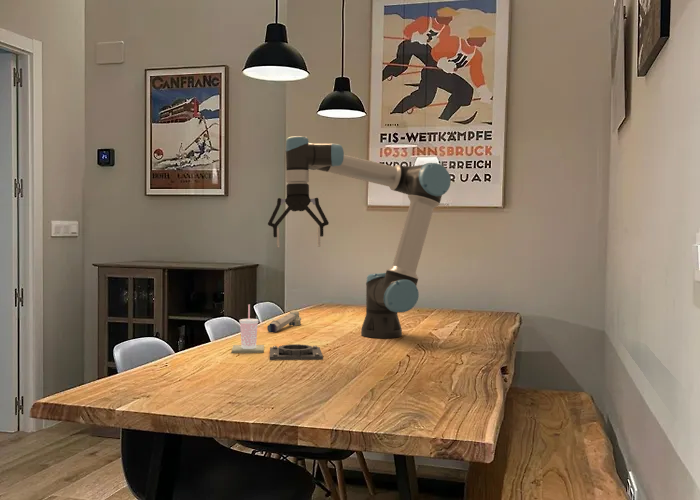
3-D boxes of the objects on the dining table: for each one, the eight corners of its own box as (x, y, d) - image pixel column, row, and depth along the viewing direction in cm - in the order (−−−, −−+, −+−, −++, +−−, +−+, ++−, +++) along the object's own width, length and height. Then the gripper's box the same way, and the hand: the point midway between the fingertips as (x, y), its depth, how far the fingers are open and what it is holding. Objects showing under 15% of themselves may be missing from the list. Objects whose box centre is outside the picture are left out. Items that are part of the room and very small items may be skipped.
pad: (264, 347, 230) (264, 344, 230) (263, 352, 220) (263, 350, 220) (233, 347, 229) (233, 345, 229) (231, 353, 219) (231, 350, 219)
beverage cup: (242, 349, 220) (243, 305, 220) (236, 346, 226) (236, 303, 225) (261, 348, 223) (261, 305, 223) (254, 345, 228) (254, 303, 228)
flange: (319, 350, 226) (319, 342, 226) (322, 359, 210) (322, 351, 210) (269, 350, 224) (270, 343, 224) (269, 359, 208) (269, 352, 208)
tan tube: (265, 322, 262) (291, 306, 285) (266, 339, 263) (291, 322, 287) (277, 323, 260) (302, 307, 284) (278, 340, 261) (303, 323, 285)
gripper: (333, 183, 237) (334, 245, 238) (260, 184, 234) (261, 247, 235) (335, 182, 230) (336, 246, 231) (259, 183, 227) (261, 248, 228)
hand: (298, 247), depth 233 cm, fingers open, 13 cm apart
